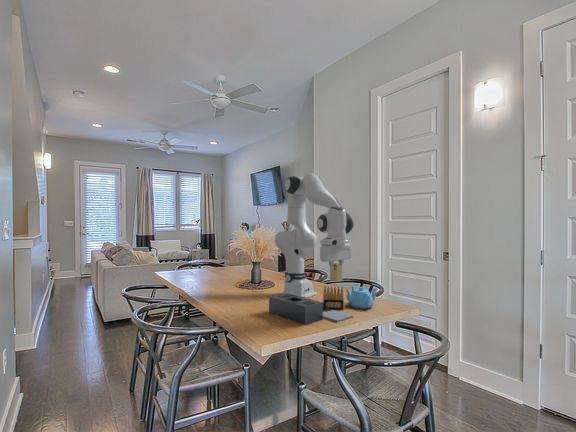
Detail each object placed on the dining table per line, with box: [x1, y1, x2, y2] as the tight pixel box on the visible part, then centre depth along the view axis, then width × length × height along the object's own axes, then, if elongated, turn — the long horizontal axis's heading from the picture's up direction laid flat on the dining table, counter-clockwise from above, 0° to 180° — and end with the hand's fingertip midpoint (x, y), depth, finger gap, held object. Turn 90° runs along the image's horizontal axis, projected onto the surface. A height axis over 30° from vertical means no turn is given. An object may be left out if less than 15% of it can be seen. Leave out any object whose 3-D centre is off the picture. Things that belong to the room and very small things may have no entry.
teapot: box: [344, 284, 378, 310], centre depth 174 cm, size 15×15×10 cm
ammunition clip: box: [322, 285, 345, 311], centre depth 167 cm, size 11×2×12 cm, turn 91°
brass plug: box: [329, 262, 343, 283], centre depth 153 cm, size 4×4×8 cm
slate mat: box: [323, 310, 354, 323], centre depth 153 cm, size 12×12×1 cm
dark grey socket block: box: [268, 293, 324, 326], centre depth 153 cm, size 12×24×8 cm, turn 44°
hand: (336, 269), depth 153 cm, fingers closed on brass plug, 4 cm apart
